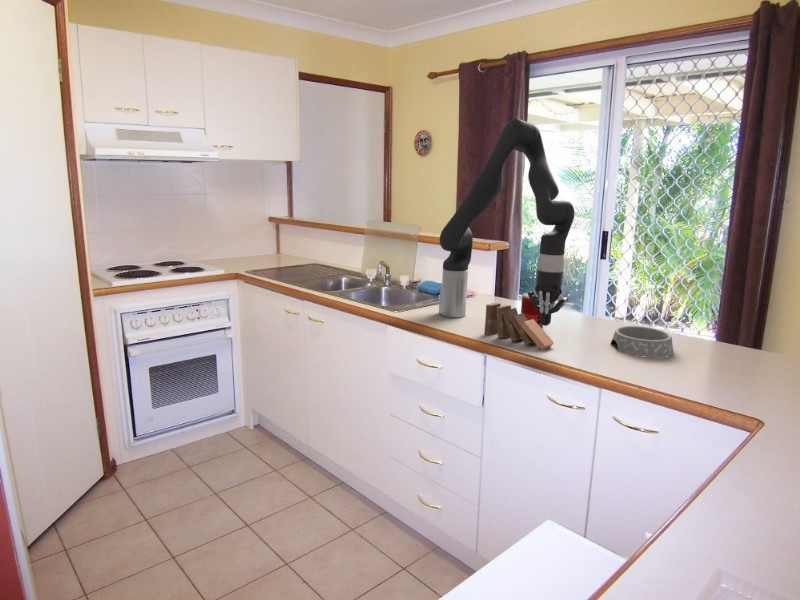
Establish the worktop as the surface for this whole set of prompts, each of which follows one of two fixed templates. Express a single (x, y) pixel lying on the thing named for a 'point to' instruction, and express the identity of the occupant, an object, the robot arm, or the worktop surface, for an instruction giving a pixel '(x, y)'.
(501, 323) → the domino
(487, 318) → the domino
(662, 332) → the dog bowl
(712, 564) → the worktop surface
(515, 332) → the domino
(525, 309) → the canned food
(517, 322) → the domino
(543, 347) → the domino
